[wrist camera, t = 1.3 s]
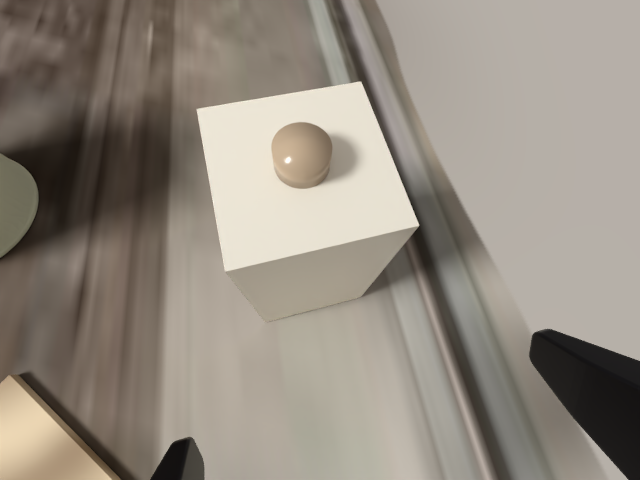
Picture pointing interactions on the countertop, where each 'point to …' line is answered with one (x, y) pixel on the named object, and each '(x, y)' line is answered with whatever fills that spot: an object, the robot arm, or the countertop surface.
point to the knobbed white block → (304, 197)
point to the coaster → (41, 440)
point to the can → (15, 203)
